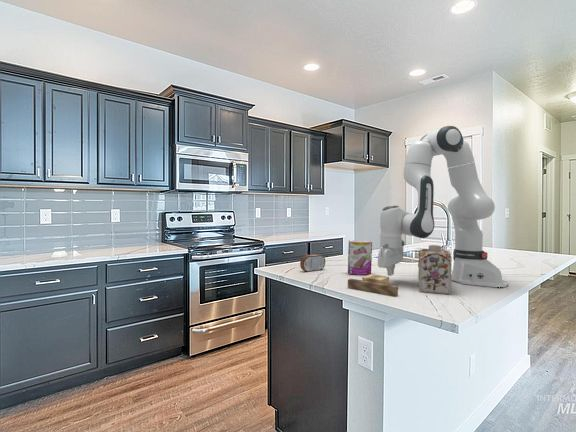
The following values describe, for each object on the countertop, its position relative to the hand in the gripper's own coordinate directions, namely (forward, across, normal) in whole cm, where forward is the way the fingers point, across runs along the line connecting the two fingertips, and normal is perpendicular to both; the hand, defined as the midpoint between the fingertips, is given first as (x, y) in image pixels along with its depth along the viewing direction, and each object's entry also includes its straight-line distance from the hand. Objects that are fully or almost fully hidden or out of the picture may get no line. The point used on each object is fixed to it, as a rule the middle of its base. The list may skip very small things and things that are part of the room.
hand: (390, 275), depth 147 cm
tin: (+3, +2, +42) cm, 42 cm away
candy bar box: (+4, +9, +19) cm, 22 cm away
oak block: (+4, -12, +2) cm, 13 cm away
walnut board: (+4, -18, +1) cm, 18 cm away
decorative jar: (+4, +1, -18) cm, 18 cm away
